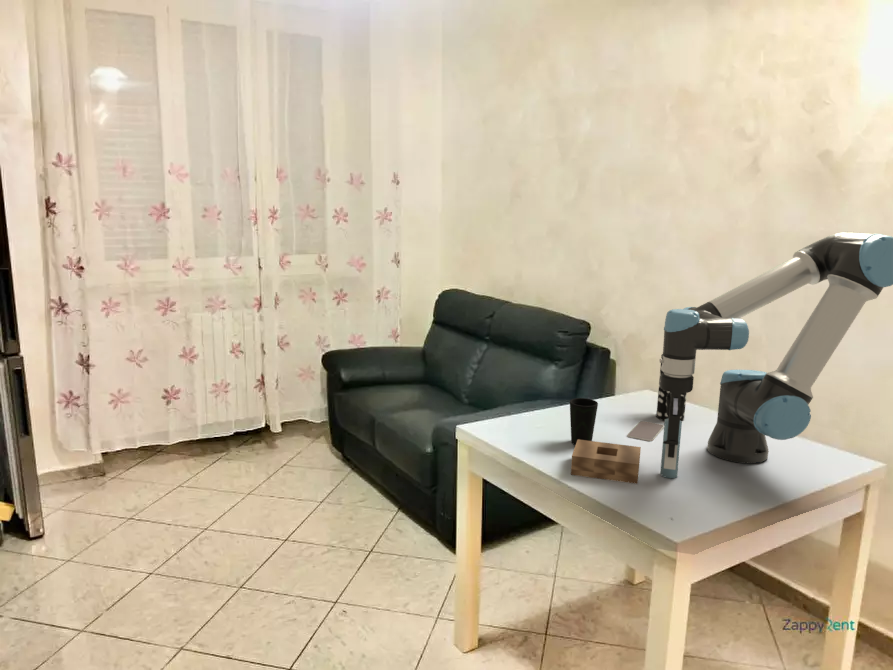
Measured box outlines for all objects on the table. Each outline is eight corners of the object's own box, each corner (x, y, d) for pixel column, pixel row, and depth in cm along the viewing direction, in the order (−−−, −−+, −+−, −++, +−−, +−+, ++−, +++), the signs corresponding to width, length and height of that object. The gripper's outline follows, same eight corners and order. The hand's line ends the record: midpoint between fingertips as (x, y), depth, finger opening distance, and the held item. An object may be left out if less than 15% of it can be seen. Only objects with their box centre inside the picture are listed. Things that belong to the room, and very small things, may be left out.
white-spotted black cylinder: (686, 416, 210) (692, 355, 206) (680, 424, 203) (686, 360, 199) (660, 411, 214) (665, 351, 210) (653, 418, 207) (658, 356, 203)
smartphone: (626, 435, 191) (640, 420, 204) (625, 438, 191) (640, 423, 204) (652, 440, 187) (664, 425, 200) (651, 443, 187) (664, 427, 200)
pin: (677, 472, 166) (681, 419, 163) (677, 478, 162) (682, 424, 160) (660, 470, 167) (664, 417, 164) (660, 476, 164) (664, 422, 161)
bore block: (639, 465, 171) (640, 447, 170) (637, 484, 159) (639, 464, 158) (576, 457, 175) (577, 439, 174) (570, 474, 164) (571, 455, 163)
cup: (595, 449, 181) (598, 407, 179) (567, 446, 183) (569, 405, 180) (595, 439, 189) (597, 399, 186) (567, 437, 190) (570, 397, 188)
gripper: (661, 364, 169) (654, 450, 173) (660, 381, 153) (653, 476, 157) (692, 366, 166) (684, 454, 171) (695, 384, 150) (686, 480, 155)
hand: (669, 464), depth 164 cm, fingers closed on pin, 4 cm apart
